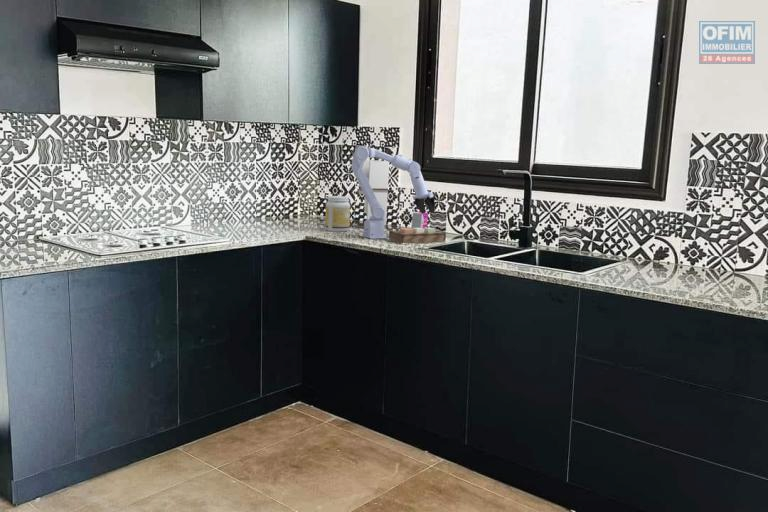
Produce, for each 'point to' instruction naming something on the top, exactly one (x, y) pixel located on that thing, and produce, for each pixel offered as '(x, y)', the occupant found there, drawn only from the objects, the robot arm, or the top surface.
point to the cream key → (418, 230)
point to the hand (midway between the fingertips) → (428, 212)
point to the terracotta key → (406, 230)
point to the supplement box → (419, 220)
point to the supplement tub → (337, 214)
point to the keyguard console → (417, 237)
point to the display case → (376, 184)
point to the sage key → (429, 229)
